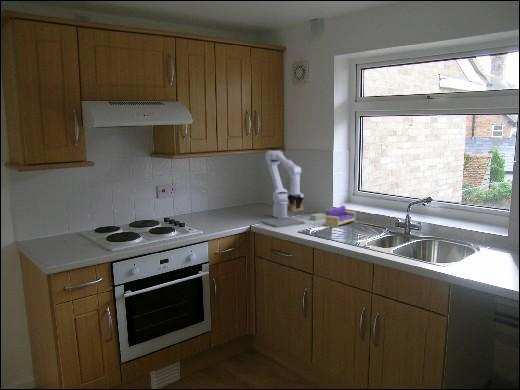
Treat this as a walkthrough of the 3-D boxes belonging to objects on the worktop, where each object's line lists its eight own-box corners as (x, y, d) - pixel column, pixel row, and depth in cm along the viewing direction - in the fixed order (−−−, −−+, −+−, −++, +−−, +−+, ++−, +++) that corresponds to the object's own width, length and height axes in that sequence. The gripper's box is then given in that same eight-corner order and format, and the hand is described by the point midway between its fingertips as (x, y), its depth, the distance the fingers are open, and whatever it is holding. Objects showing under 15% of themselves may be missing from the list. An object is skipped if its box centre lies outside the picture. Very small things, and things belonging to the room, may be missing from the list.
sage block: (310, 219, 286) (310, 214, 285) (320, 218, 289) (320, 213, 289) (315, 221, 281) (315, 215, 280) (325, 220, 285) (325, 214, 284)
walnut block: (287, 210, 280) (287, 204, 280) (298, 209, 284) (298, 203, 284) (292, 211, 275) (292, 205, 275) (303, 210, 280) (303, 204, 279)
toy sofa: (337, 228, 259) (337, 211, 258) (324, 226, 265) (324, 209, 263) (355, 222, 274) (356, 206, 273) (343, 221, 280) (343, 204, 279)
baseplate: (260, 222, 278) (260, 220, 277) (287, 219, 288) (287, 217, 287) (276, 227, 262) (276, 225, 262) (304, 223, 272) (304, 221, 272)
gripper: (307, 186, 274) (307, 208, 275) (293, 184, 286) (293, 205, 288) (298, 187, 270) (298, 209, 272) (284, 185, 282) (284, 206, 284)
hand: (295, 207), depth 280 cm, fingers closed on walnut block, 5 cm apart
